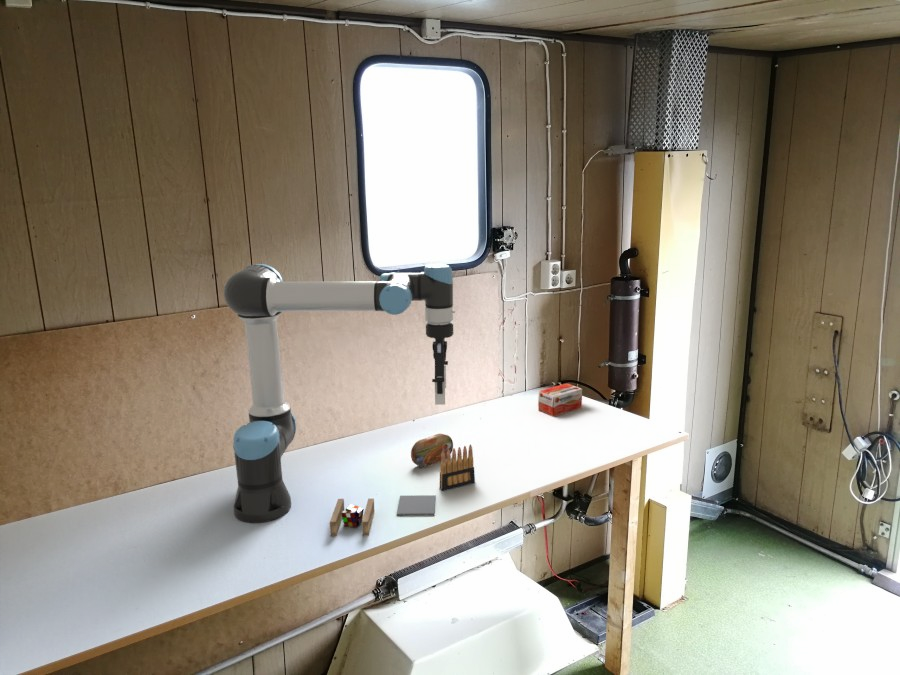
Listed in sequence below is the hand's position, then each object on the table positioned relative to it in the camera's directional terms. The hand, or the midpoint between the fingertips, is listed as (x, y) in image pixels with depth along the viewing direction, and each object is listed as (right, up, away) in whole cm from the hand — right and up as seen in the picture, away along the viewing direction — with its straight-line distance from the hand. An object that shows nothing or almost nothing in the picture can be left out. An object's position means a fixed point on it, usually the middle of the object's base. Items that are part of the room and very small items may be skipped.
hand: (440, 395), depth 192 cm
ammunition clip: (+5, -27, +7) cm, 28 cm away
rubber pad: (-7, -30, -4) cm, 31 cm away
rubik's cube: (-23, -33, -13) cm, 42 cm away
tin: (-3, -23, +23) cm, 32 cm away
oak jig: (-23, -32, -13) cm, 41 cm away
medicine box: (+44, -11, +65) cm, 79 cm away
